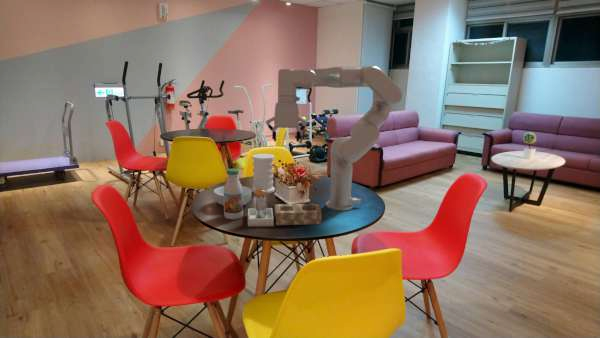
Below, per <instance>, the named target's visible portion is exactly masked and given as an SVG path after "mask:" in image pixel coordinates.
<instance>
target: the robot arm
mask: <svg viewBox="0 0 600 338" xmlns="http://www.w3.org/2000/svg"><path fill="white" fill-rule="evenodd" d="M277 73H278V74H277V76H278V77H277V102H276V103H275V107H274V116H273V117H271V118H269V119H267V120H265V124H266V126H267V127H268V129H269V130H270V131H271V133H272V135H271V136H272V140H273V141H274V143H275V142H277V131H276V130H278V128H280V129H281V128H283V129H290V128H292V129H296V130H297V131H296V139H295V140H296V142H297V143H300V140H301V133H302V131H303V130H305V128H306V127H307V125H308V121H307V120H305V119H303V118H302V117H300V112H299V104H298V103H297V102H298V101H301V99H300V97H299V96H297V88H298V87H299V88H303V89H304V88H305V89H310V88H313V87H324V88H325V87H327V88H332V89H335V88H336V89H339V88H340V89H343V88H345V89H346V88H369V89H370V90H371V91H372V104H371V107H370V109H368V111H367V112H365V114H364V115H363V116H362V117H360V118H359V120H357V121H355V123H354V124H353V125H352V126H351V128H350V131H349V134H350V138H348V137H346V136H345V137H344V136H339V137H336V138H334V140H333V141H332V142H331V145H330V181H329V200H328V201H326V202H325V207H326V208H327V209H330V210H334V211H339V212H342V211H343V212H345V211H350V210H352V209H353V208H354V204H362V199H361V198H357V197H352V183H353V181H352V180H353V163H356V162H357V161H359V160H360V159H361V158H362V157H363V156H364V155H365V154H367V152H369V151H371V150H372V148H373V147H374V146H375V145H376V144H377V142H379V138H380V134H381V133H380V127H382V126H383V125H384V123H385V122H387V120H388V118H389V115H390V112H391V107H395V106H396V105H398V104H399V103H400V101H401V100H402V98H403V97H402V96H403V94H402V90H401V88H400V87H399V86H398V85H397V83H395V82H394V81H393V79H392V78H390V77H389V76H388V74H386V73H385V72H384V71H383V70H382V69H381V68H379V67H378V66H376V65H361V66H360V65H359V66H333V67H326V68H301V69H294V68H281V69H279V70H278V72H277ZM273 121H274V123H273V124H274V126H272V125H271V123H272V122H273ZM300 123H302V125H301V126H300V125H299V124H300ZM299 126H300V127H299Z"/></svg>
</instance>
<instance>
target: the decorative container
mask: <svg viewBox="0 0 600 338" xmlns="http://www.w3.org/2000/svg"><path fill="white" fill-rule="evenodd" d="M251 158H252V159H253V162H252V164H253V168H252V172H253V175H252V177H253V181H252V183H253V186H252V187H251V190H252V192H253V193H254V194H256V189H265V190H266V195H268V194H272V193H274V192H275V189H276V188H275V187H274V186H273V185H274V180H273V179H274V174H273V173H274V160H275V155H273V154H271V153H256V154H253V155H252V157H251Z"/></svg>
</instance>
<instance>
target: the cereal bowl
mask: <svg viewBox="0 0 600 338" xmlns="http://www.w3.org/2000/svg"><path fill="white" fill-rule="evenodd" d="M224 186H225V185H222V186H219V187H217V188H215V189H213V197H214V198H213V199H214V200H215V202H217V204H219V205H221V206H223V207H224ZM241 186H242V190H243V206H244V205H246V204H247V203H249V202H250V200H251V198H252V195H253V194H252V188H250V187H248V186H245V185H241Z"/></svg>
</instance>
